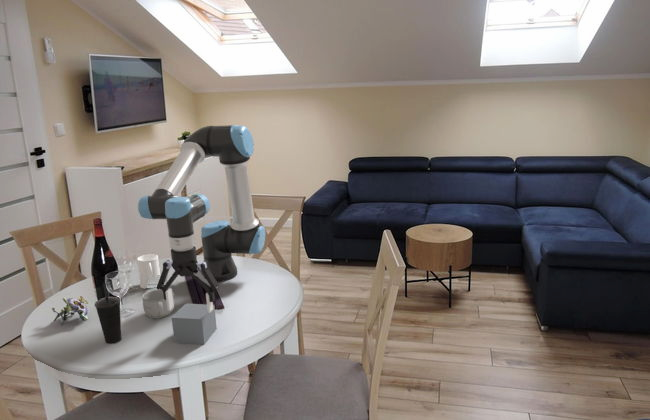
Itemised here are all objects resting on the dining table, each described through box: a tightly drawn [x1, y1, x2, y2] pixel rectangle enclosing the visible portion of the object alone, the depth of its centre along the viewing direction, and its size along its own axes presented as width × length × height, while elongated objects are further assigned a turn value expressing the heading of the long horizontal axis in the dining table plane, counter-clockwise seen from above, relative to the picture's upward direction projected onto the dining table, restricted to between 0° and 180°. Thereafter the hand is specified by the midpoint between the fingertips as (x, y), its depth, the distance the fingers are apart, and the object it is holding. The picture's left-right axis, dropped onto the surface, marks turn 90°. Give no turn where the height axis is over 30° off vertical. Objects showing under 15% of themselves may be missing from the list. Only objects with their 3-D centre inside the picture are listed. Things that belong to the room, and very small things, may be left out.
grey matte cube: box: [171, 303, 218, 345], centre depth 166 cm, size 10×10×9 cm
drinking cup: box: [94, 282, 122, 345], centre depth 164 cm, size 8×8×20 cm
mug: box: [136, 253, 161, 290], centre depth 207 cm, size 12×8×12 cm
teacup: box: [141, 288, 175, 319], centre depth 181 cm, size 14×11×8 cm
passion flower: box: [51, 295, 89, 326], centre depth 179 cm, size 11×11×12 cm
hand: (190, 309), depth 163 cm, fingers open, 13 cm apart
